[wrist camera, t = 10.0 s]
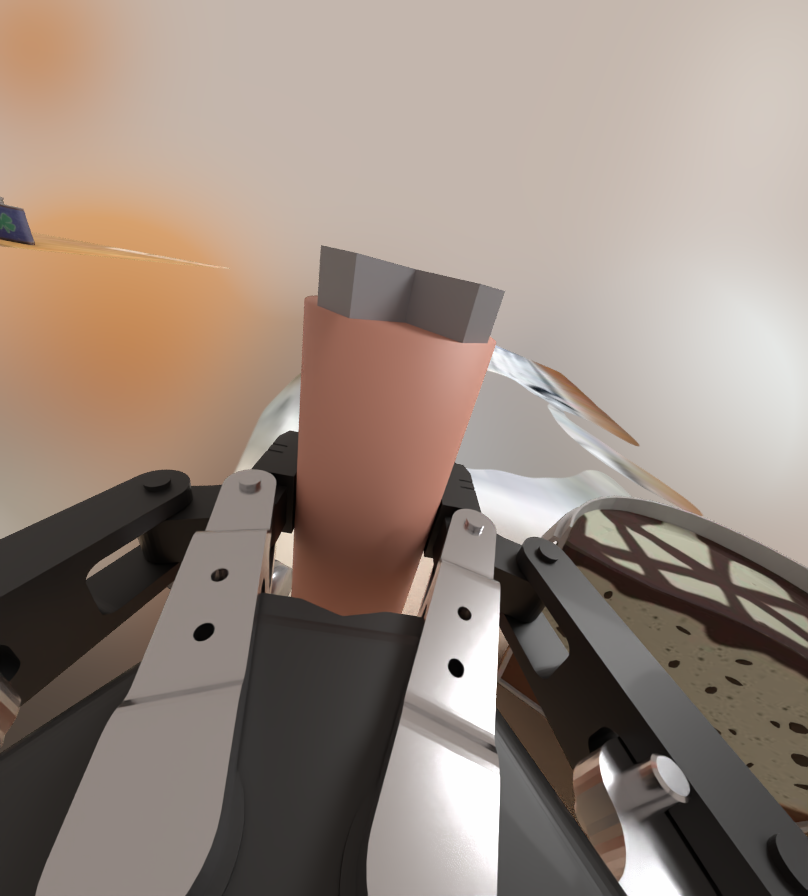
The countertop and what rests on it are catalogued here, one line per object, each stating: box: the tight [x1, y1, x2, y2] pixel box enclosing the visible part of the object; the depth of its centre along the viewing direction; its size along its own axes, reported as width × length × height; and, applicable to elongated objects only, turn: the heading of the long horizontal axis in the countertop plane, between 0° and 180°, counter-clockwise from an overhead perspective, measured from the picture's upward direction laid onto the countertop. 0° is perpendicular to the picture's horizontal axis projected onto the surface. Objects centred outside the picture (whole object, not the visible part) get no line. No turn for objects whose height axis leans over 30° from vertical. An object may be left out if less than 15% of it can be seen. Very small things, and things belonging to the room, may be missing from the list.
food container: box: [497, 496, 808, 834], centre depth 13 cm, size 12×6×10 cm, turn 59°
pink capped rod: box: [291, 246, 505, 616], centre depth 10 cm, size 4×4×15 cm
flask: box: [0, 197, 35, 245], centre depth 87 cm, size 9×3×11 cm, turn 101°
